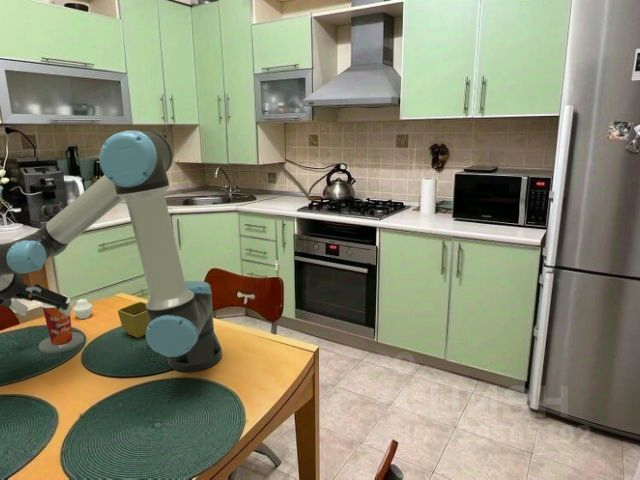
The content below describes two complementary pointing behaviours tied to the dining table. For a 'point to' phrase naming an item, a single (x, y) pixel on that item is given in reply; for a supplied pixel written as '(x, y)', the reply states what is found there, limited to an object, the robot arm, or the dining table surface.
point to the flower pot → (134, 319)
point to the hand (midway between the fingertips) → (47, 311)
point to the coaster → (49, 348)
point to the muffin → (82, 309)
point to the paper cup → (57, 324)
